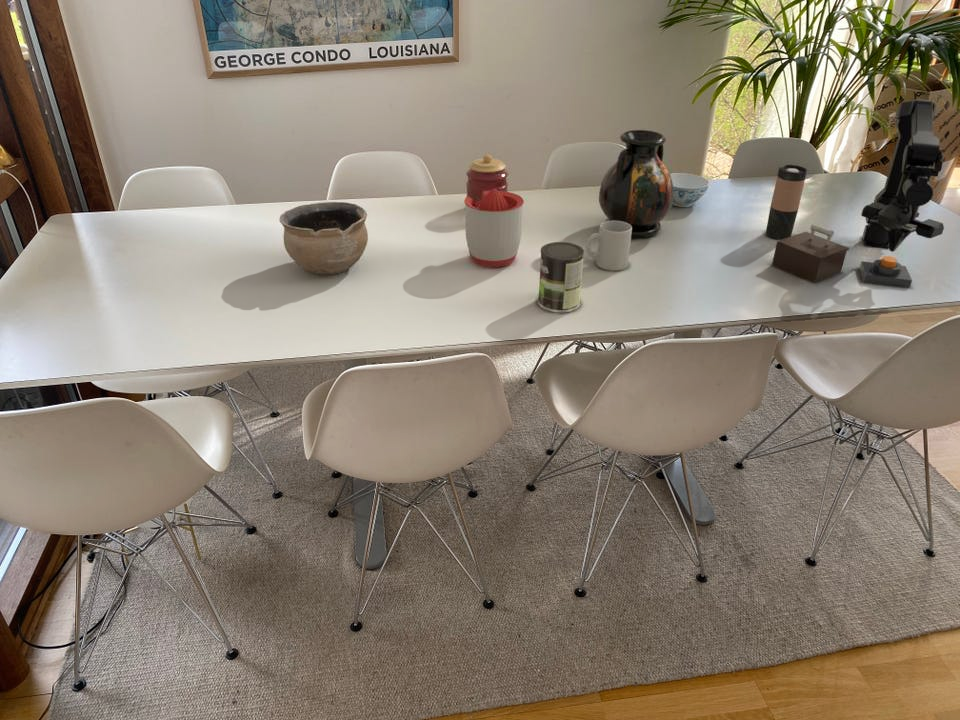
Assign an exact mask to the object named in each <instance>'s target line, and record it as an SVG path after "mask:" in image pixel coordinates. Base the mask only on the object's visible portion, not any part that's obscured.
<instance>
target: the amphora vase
mask: <svg viewBox="0 0 960 720" xmlns="http://www.w3.org/2000/svg"><path fill="white" fill-rule="evenodd" d="M619 139H620V141H621V142H623V143H624V144H625V148H624V149H622V150H621V151H620V152H619V154H618V156H617V160H616V161H615V162H614V163H613V164H611V166H610V167H609V168H608V169H607V171H606V173H605V174H604V176H603V179H602V181H601V183H600V187H599V193H598V203H599V207H600V209H601V211H602V212H603V214H604V216H605V217H606V219H605V221H604V222H606V221H622V222H626V223H628V224H630V225H631V226H632V233H631V239H643V238H650V237H652V236H655V235H657V234H659V232H660V231H661V228H662V227H661V226H662V225H661V223H660V222H662V221H663V220H664V219H665V218H666V217H667V215H668V214H669V213H670V211H671V210H672V207H673V206H674V205H673V199H674V191H673V182H672V178H671V175H670V174H671V173H670V172H669V169H668V168H667V167H666V166H665V164H664V163H663V157H664V144H665V143H666V142H667V137H666V136H665V135H664V134H663V133H662V132H661V133H660V132H657V131H653V130H646V129H633V130H626V131H624V132H622V133H621V134H620V135H619Z"/></svg>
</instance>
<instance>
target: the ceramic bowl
mask: <svg viewBox="0 0 960 720" xmlns="http://www.w3.org/2000/svg"><path fill="white" fill-rule="evenodd" d="M367 216H368V213H367V211H366V210H365V209H364V208H363V206H360V205H359V204H356V203H352V202H346V201H326V202H317V203H316V202H315V203H310V204H301V205H298V206H296V207H295V206H294V207H293V208H291V209H289V210H286V211H285V212H283V213H282V214H280V216H279V219H278V221H279V223H280V225H282V227H283V245H284V249H285V251H286V252H287V254H288V256H289V257H290V258H291V259H292V260H293V261H294V262H295V263H296V264H297V265H298V266H299V267H301V268H303V269H304V270H306V271H308V272H310V273H311V274H312V273H313V274H316V275H336V274H337V275H338V274H340V273H344V272H346V271H348V270H349V269H351V268H352V267H353V266H354V265H355V264H357V262H358V261H359V260H360V259H361V257H362V256H363V254H364V252H365V250H366V247H367V246H368V240H369V234H368V228H367V226H366V225H367V224H366V220H367Z"/></svg>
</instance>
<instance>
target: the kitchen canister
mask: <svg viewBox="0 0 960 720" xmlns="http://www.w3.org/2000/svg"><path fill="white" fill-rule="evenodd" d="M468 167H469V169H468V170H466V172H465V174H466V177H467V181H466V183H465V184H466V197H467V196H468V197H469V198H471V199H473V200H472V203H477V202H479V201H482V191H491V190H492V189H496V190H497V191H506V192H508V186H509V183H508V181H507V178H508V176H509V171H507V170H506V163H504V162H502V161H501V160H500V159H497V158H494V157H492V155H491V154H488V153H486V154H484V155H483V157H481V158H477V159H475V160H473V161H472V162H471V163H469V164H468Z"/></svg>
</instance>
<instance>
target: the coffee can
mask: <svg viewBox="0 0 960 720" xmlns="http://www.w3.org/2000/svg"><path fill="white" fill-rule="evenodd" d="M584 256H585V249H584V248H583V247H582V246H581V245H578V244H576V243H572V242H567V241H555V242H549V243H546V244H544V245H542V246H541V248H540V267H539V285H538V298H537V304H538V306H539V307H540V308H541V309H543V310H544V311H547V312H552V313H556V314H565V313H571V312H573V311H575V310H577V309H578V308H579V307H580V305H581V303H580V298H581V289H582V287H581V286H582V276H583V266H584V265H583V264H584Z"/></svg>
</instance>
